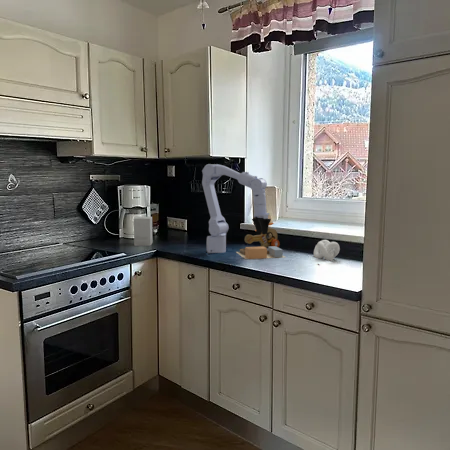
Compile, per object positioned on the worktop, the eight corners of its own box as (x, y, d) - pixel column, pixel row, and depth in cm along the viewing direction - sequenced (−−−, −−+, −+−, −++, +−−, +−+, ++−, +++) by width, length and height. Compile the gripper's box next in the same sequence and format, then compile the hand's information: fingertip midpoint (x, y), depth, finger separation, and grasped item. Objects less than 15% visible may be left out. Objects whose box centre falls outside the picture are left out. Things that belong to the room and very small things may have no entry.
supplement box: (153, 243, 237) (152, 216, 235) (150, 246, 228) (150, 218, 226) (136, 242, 237) (136, 216, 235) (133, 245, 228) (133, 218, 226)
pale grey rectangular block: (274, 257, 198) (274, 250, 198) (268, 253, 207) (268, 246, 206) (282, 257, 199) (282, 249, 199) (275, 253, 208) (275, 246, 207)
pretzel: (306, 258, 201) (307, 240, 200) (323, 256, 208) (323, 237, 207) (325, 263, 192) (326, 243, 191) (342, 260, 199) (343, 241, 198)
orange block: (248, 258, 194) (248, 249, 194) (245, 256, 199) (245, 247, 199) (266, 257, 197) (267, 248, 196) (263, 255, 201) (263, 246, 201)
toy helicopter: (281, 248, 227) (282, 222, 225) (250, 252, 215) (250, 225, 214) (271, 245, 234) (272, 221, 232) (240, 249, 222) (241, 223, 220)
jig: (245, 261, 194) (245, 255, 193) (235, 253, 210) (235, 248, 210) (286, 259, 199) (286, 254, 198) (273, 252, 215) (273, 247, 215)
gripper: (273, 203, 191) (275, 233, 192) (262, 203, 205) (264, 231, 206) (258, 205, 189) (261, 235, 190) (249, 204, 203) (251, 232, 204)
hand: (262, 233), depth 198 cm, fingers open, 7 cm apart
